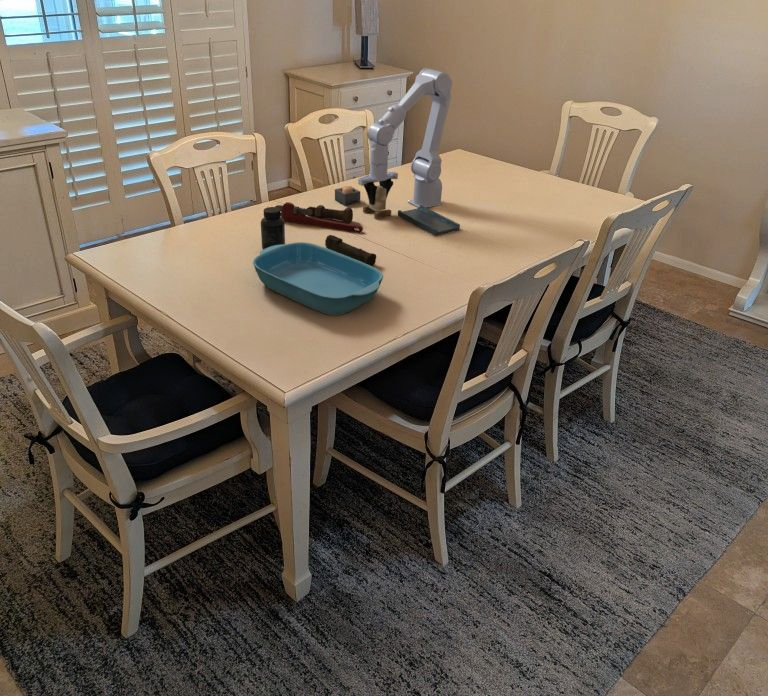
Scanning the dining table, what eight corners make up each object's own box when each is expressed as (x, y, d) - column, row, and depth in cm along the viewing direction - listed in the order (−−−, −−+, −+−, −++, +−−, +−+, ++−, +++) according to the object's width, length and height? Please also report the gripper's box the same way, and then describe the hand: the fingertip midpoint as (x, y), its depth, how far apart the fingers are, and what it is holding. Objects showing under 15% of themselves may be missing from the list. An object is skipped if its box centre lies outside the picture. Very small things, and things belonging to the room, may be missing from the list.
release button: (348, 196, 241) (349, 185, 239) (354, 199, 238) (354, 188, 236) (340, 198, 239) (340, 187, 237) (345, 201, 237) (346, 190, 234)
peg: (378, 205, 231) (379, 185, 228) (385, 209, 229) (386, 188, 225) (368, 207, 229) (369, 187, 226) (375, 211, 227) (376, 190, 223)
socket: (377, 208, 234) (377, 203, 233) (390, 216, 229) (391, 210, 228) (362, 211, 231) (363, 206, 230) (376, 219, 226) (376, 213, 225)
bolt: (309, 221, 227) (351, 226, 223) (303, 218, 222) (346, 224, 218) (312, 203, 227) (354, 209, 223) (306, 200, 222) (349, 206, 218)
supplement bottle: (270, 242, 206) (268, 203, 200) (289, 246, 204) (288, 208, 198) (257, 250, 201) (255, 211, 195) (276, 255, 199) (275, 215, 192)
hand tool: (377, 265, 196) (377, 250, 194) (367, 269, 194) (367, 254, 191) (332, 245, 207) (332, 231, 205) (322, 248, 204) (322, 234, 202)
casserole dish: (398, 298, 179) (400, 273, 175) (342, 330, 164) (343, 304, 160) (296, 258, 198) (296, 235, 194) (238, 283, 183) (236, 259, 179)
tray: (421, 210, 234) (421, 205, 233) (459, 230, 221) (460, 224, 220) (397, 216, 229) (397, 210, 228) (435, 236, 216) (436, 230, 215)
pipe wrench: (360, 236, 215) (272, 221, 221) (363, 233, 217) (275, 218, 223) (361, 216, 212) (271, 201, 218) (364, 213, 214) (275, 199, 220)
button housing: (350, 197, 243) (350, 186, 241) (360, 202, 239) (360, 191, 237) (334, 200, 240) (334, 189, 238) (344, 205, 235) (344, 194, 233)
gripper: (389, 156, 227) (388, 195, 234) (353, 162, 220) (352, 202, 227) (402, 161, 222) (400, 201, 230) (365, 168, 215) (364, 209, 222)
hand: (377, 202), depth 228 cm, fingers closed on peg, 4 cm apart
